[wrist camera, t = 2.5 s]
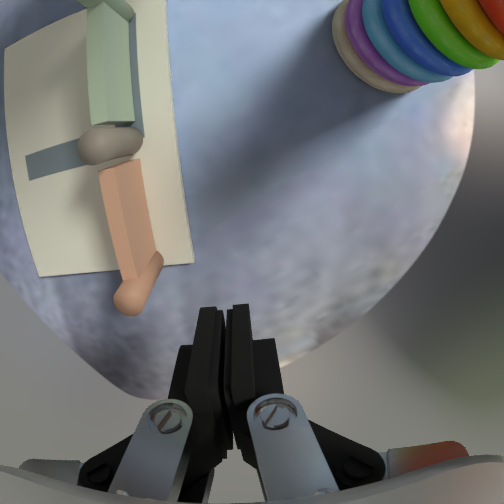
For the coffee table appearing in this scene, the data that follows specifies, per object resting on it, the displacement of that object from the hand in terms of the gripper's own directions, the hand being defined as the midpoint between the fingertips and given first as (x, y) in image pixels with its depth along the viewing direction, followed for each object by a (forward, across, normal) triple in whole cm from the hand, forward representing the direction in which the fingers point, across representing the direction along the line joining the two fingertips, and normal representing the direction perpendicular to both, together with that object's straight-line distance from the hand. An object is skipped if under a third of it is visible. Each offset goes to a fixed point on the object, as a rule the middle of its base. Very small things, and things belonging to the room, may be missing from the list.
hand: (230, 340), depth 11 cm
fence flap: (+11, +6, -3) cm, 13 cm away
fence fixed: (+10, +6, -13) cm, 18 cm away
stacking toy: (+11, -12, -14) cm, 21 cm away
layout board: (+11, +10, -9) cm, 17 cm away
